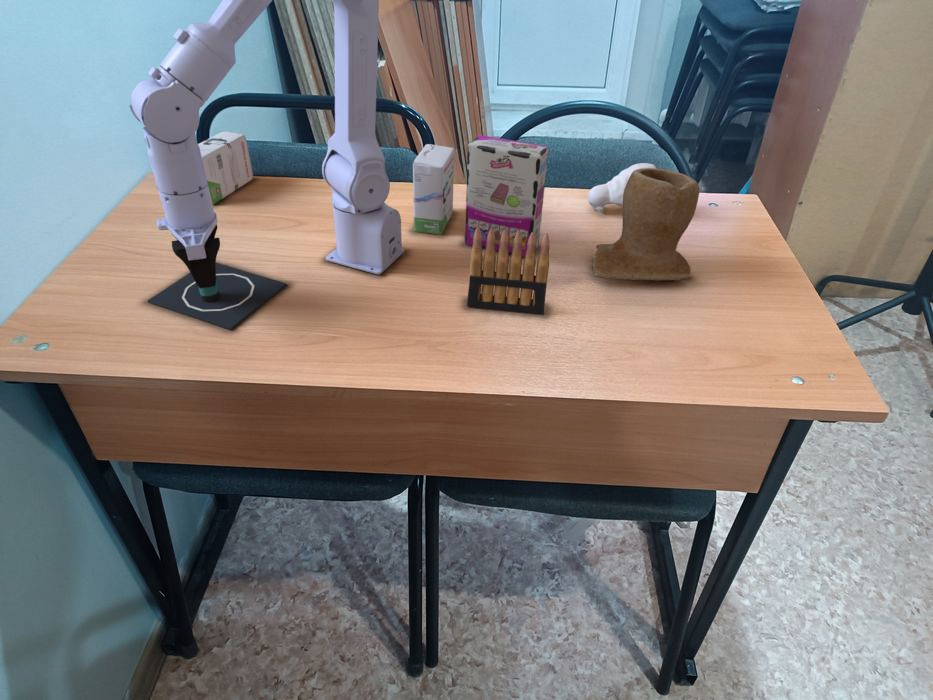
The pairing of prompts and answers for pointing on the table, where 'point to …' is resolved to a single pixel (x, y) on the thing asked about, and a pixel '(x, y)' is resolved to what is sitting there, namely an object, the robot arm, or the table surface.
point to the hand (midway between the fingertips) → (206, 280)
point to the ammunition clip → (508, 275)
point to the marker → (209, 293)
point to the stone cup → (650, 228)
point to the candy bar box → (504, 189)
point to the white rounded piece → (613, 188)
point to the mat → (234, 303)
